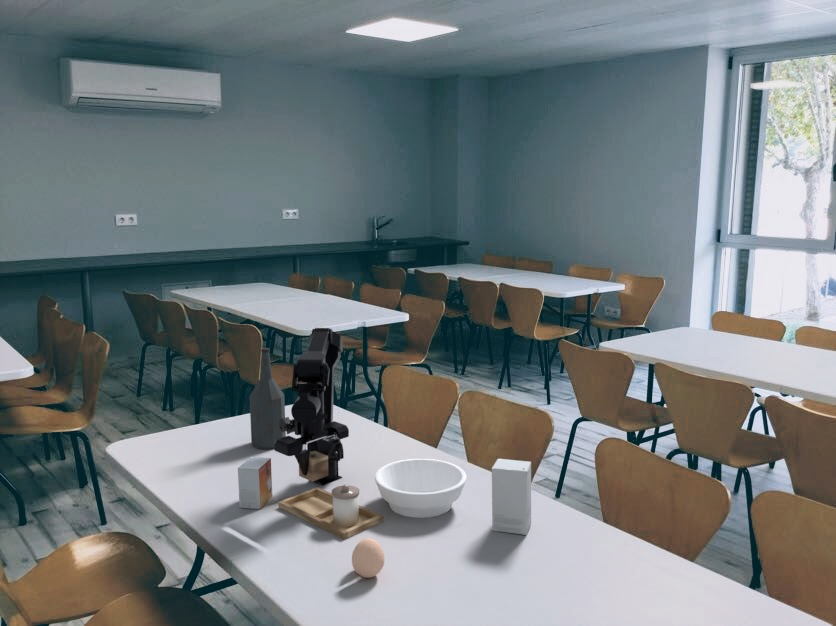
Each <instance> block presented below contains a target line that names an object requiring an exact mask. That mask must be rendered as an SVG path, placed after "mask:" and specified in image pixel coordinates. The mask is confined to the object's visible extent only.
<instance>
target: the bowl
mask: <svg viewBox="0 0 836 626" xmlns="http://www.w3.org/2000/svg"><path fill="white" fill-rule="evenodd" d="M374 481H375V482H376V483H375V484H376V486H377V488H378V491H379V494H380V496H381V497H382V499H383V500H384V501H385V502H388V504H389V507H390V509H391V510H392V511H393V512H394V513H396V514H398V515H401V516H403V517H404V516H405V517H408V518H414V519H415V518H417V519H427V518H433V517H437V516H438V517H439V516H441V515H444V514H446V513H447V512H448V511H450V509H451V508H452V506H453V503H455V502H456V501H457V500H458V499H459V498H460V497H461V495H462V492H463V489H464V486H465V485H466V481H467V474H466V472H465V470H463V468H462V467H460V466H458V465H456V464H454V463H452V462H448V461H444V460H440V459H433V458H409V459H408V458H407V459H402V460H396V461H393V462H390V463H388V464H385V465H384V466H383V465H382V467H380V468H379V469H378V470H377V471H376V472H375V475H374Z"/></svg>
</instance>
